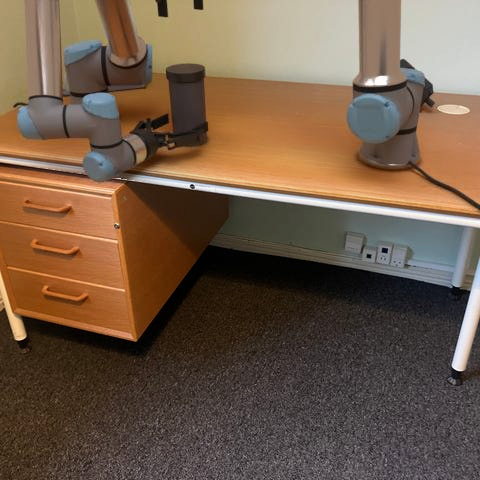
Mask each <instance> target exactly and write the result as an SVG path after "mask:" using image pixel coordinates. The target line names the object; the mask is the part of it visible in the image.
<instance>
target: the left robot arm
mask: <svg viewBox="0 0 480 480" xmlns="http://www.w3.org/2000/svg"><path fill="white" fill-rule="evenodd" d="M23 2H24V4H23V5H24V27H25V28H24V31H25V51H26V53H25V55H26V74H27V75H26V78H27V81H26V82H27V101H28V103H26V102H22V101H21V102H20V101H19V102H16V103H14V104H13V106H12V108H14V109H15V108H17V107H18V106H20V107H19V108H18V110H17V115H16V121H17V128H18V130H19V131H18V132H19V133H20V135H21V136H22V137H23V138H24V139H26V140H36V141H37V140H41V141H48V140H64V139H65V140H66V139H68V140H69V139H88V142H89V146H90V151H88V153H86V154H85V155H84V156H83V158H82V159H83V160H82V168H83V171H84V173H85V175H86V176H87V177H88V178H89V179H90V180H91V181H93V182H95V183H98V184H101V183H105V182H107V181H110V180H112V179H114V178H116V177H118V176H119V175H121V174H122V173H124V172H126V171H128V170H129V169H133V168H134V167H136V166H137V165H138V164H141V163H142V162H145V161H148V160H149V159H151V158H153V157H154V156H155V155H156V154H157V151H158V150H159V149H162V148H164V147H166V148H167V151H173V150H175V149H177V148H181V147H187V146H186V145H190V144H195V143H199V142H201V135H203V134H204V133H206V132H207V133H208V132H209V121H207V120H206V121H205V122H203V123H201V124H200V125H198V126H196V127H194V128H192V130H190V131H183V132H175V133H173V132H171V131H161V132H160V131H156V130H158V129H160V128H162V127H164V126H167V125H168V124H170V117H169V113H164V114H162V115H160V116H158V117H156V118H153V119H151V117H146V118H145V120H143V119H140V120H139V121H138V123H136V125H135V127H134V128H133V129H132V130H130V131H129V132H128V133H127V134H126V135H124V136H123V134H122V127H121V118H120V111H119V108H118V103H117V98H116V97H115V96H114V95H113V94H112V93H110V91H108V86H128V85H139V86H141V85H145V86H146V85H150V84H151V83H152V82H153V46H152V44H148V43H146V41H145V40H144V39H143V38H142V37H141V36H140V35H139V34H138V29H137V25H136V21H135V17H134V13H133V8H132V4H131V0H94V2H95V5H96V9H97V11H98V15H99V17H100V21H101V24H102V27H103V30H104V32H105V33H104V34H105V36H106V39H107V45H103V43H102V41H101V40H99V39H91V40H84V41H79V42H76V43H73V44H70V45H68V46H66V47H65V48H64V49H63V52H62V35H61V34H62V33H61V30H62V29H61V9H60V8H61V5H60V4H61V3H60V0H23ZM62 55H63V58H62ZM62 59H63V60H62ZM63 62H64V63H63ZM63 66H64V70H65V72H66V74H67V80H68V85H69V90H70V95H69V96H70V101H69V104H64V95H63V89H64V85H63Z"/></svg>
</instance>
